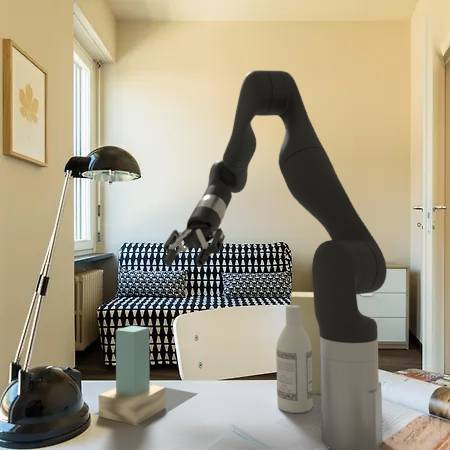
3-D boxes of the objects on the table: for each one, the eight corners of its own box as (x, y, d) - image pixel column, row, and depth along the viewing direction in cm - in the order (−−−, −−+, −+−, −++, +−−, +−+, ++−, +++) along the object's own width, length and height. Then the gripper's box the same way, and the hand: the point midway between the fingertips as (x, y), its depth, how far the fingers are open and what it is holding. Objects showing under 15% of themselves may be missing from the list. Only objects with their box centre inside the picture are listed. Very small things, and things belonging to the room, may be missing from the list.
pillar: (149, 389, 84) (149, 327, 84) (134, 396, 80) (134, 332, 80) (131, 385, 86) (131, 325, 86) (116, 392, 82) (116, 330, 82)
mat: (197, 394, 92) (197, 393, 92) (143, 427, 76) (143, 426, 76) (153, 386, 98) (153, 385, 98) (94, 415, 82) (94, 413, 82)
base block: (165, 407, 84) (165, 387, 85) (135, 425, 77) (135, 402, 77) (130, 400, 89) (130, 380, 89) (98, 416, 81) (98, 394, 81)
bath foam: (303, 399, 89) (301, 303, 90) (318, 412, 82) (316, 308, 83) (272, 402, 87) (270, 304, 88) (285, 416, 80) (283, 309, 81)
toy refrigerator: (325, 395, 91) (323, 296, 92) (291, 393, 93) (289, 296, 93) (324, 382, 99) (322, 292, 100) (292, 381, 100) (291, 291, 101)
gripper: (177, 206, 108) (149, 253, 97) (227, 203, 101) (203, 253, 90) (189, 228, 112) (164, 275, 102) (237, 226, 105) (215, 276, 95)
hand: (182, 264), depth 96 cm, fingers open, 8 cm apart
